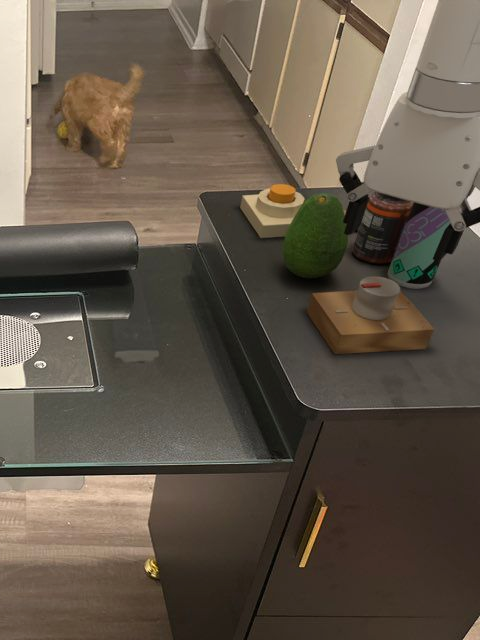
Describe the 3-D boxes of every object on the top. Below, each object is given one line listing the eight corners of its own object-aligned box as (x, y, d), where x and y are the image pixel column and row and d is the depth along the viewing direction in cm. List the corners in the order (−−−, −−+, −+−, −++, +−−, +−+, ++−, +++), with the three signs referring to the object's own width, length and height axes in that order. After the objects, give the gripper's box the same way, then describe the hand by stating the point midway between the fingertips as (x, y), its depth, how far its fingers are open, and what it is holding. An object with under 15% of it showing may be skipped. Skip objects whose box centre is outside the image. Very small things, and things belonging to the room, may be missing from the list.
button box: (289, 204, 117) (295, 181, 114) (313, 235, 109) (320, 210, 107) (239, 207, 117) (244, 184, 114) (260, 238, 109) (265, 214, 107)
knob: (380, 298, 91) (390, 272, 88) (397, 319, 87) (408, 292, 85) (345, 301, 91) (354, 275, 88) (361, 321, 87) (370, 294, 85)
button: (288, 193, 112) (290, 183, 111) (296, 204, 109) (299, 193, 108) (264, 195, 112) (267, 184, 111) (272, 205, 109) (275, 195, 108)
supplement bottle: (394, 247, 105) (422, 173, 98) (398, 268, 101) (427, 192, 94) (350, 242, 107) (373, 169, 100) (351, 262, 103) (376, 188, 95)
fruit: (345, 291, 97) (372, 209, 90) (284, 291, 98) (306, 211, 90) (327, 260, 104) (351, 181, 96) (270, 261, 104) (289, 182, 96)
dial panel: (391, 307, 94) (399, 286, 92) (426, 349, 87) (435, 328, 85) (306, 312, 94) (312, 291, 92) (334, 354, 88) (341, 333, 85)
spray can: (379, 269, 101) (430, 127, 88) (417, 265, 101) (474, 123, 88) (400, 290, 97) (457, 145, 84) (440, 286, 97) (503, 141, 84)
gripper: (563, 97, 69) (488, 254, 80) (376, 65, 79) (332, 209, 90) (542, 120, 65) (466, 282, 76) (348, 83, 75) (305, 232, 86)
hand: (394, 243), depth 83 cm, fingers open, 9 cm apart
